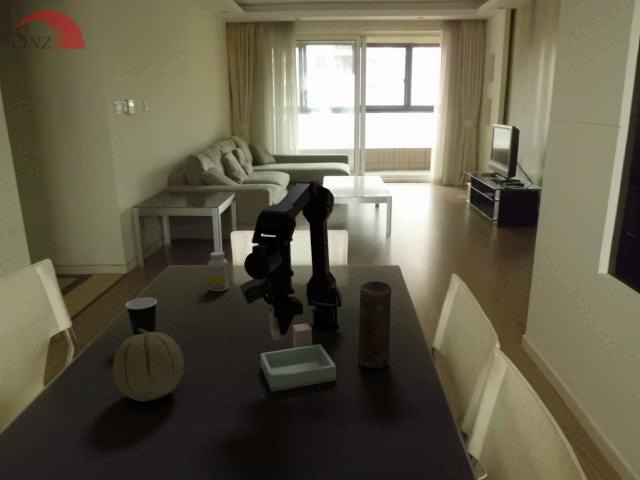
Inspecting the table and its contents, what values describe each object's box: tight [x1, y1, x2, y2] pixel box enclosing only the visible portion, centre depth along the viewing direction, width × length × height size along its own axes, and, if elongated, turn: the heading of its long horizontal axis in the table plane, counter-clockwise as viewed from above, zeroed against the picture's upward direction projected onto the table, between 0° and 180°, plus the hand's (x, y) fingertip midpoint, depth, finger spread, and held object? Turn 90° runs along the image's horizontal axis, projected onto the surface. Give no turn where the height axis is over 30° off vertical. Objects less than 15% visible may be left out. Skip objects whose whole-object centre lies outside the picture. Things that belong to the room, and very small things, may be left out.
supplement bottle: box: [208, 251, 231, 292], centre depth 178 cm, size 7×7×13 cm
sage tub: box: [260, 343, 337, 393], centre depth 121 cm, size 15×12×4 cm
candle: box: [357, 280, 392, 370], centre depth 122 cm, size 8×7×20 cm
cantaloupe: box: [112, 329, 185, 403], centre depth 111 cm, size 15×15×15 cm
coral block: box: [292, 322, 313, 348], centre depth 133 cm, size 4×4×6 cm
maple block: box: [268, 309, 292, 341], centre depth 117 cm, size 4×4×6 cm
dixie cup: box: [125, 296, 158, 336], centre depth 139 cm, size 8×8×11 cm
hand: (281, 331), depth 117 cm, fingers closed on maple block, 4 cm apart
